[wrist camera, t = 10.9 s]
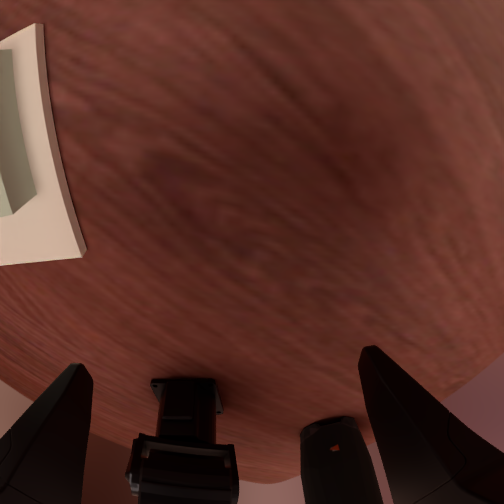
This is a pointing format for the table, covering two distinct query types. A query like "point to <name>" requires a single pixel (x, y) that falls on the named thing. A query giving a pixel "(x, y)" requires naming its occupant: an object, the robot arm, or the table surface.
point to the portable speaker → (337, 465)
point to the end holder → (31, 160)
